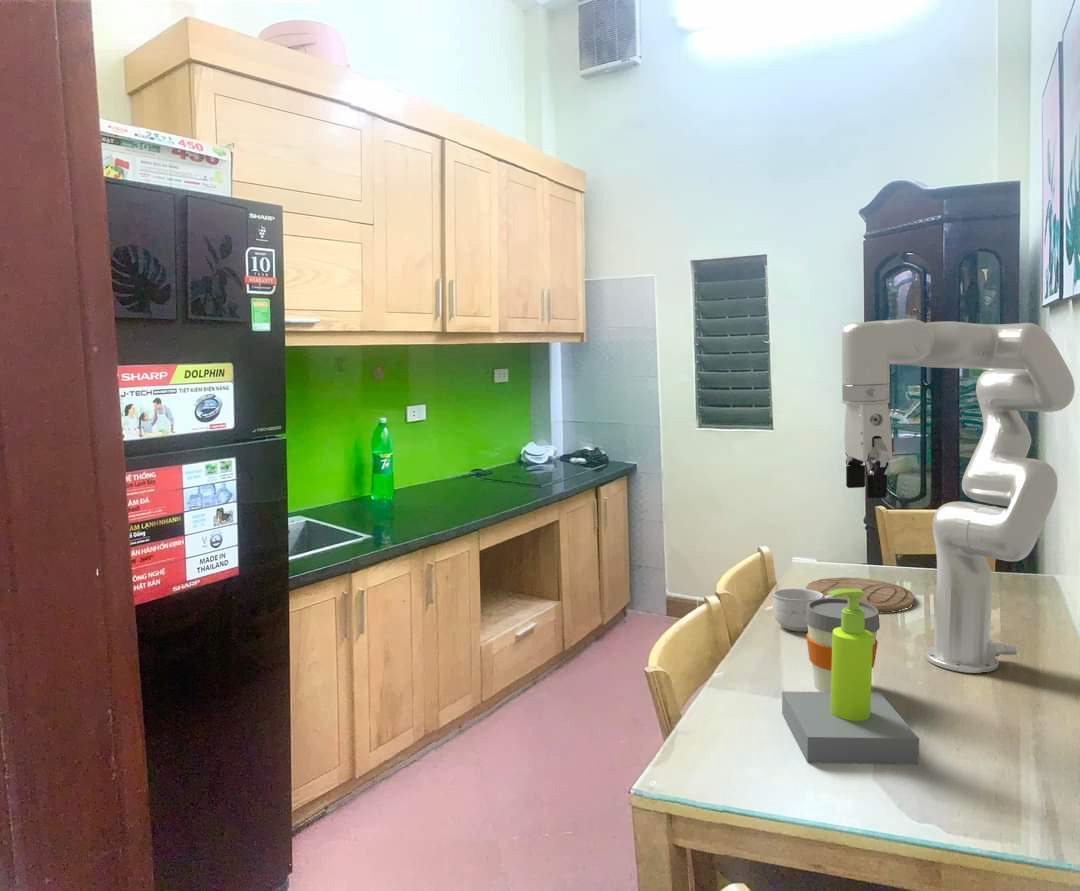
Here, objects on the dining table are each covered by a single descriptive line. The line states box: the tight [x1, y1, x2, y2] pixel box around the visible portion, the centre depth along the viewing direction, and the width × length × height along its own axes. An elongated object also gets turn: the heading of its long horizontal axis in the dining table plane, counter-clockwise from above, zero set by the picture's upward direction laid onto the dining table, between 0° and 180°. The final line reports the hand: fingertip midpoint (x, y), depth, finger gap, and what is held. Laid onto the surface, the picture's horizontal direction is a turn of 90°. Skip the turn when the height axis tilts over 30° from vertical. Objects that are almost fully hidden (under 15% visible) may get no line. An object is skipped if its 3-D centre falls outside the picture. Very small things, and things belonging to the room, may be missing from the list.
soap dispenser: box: [827, 588, 873, 721], centre depth 121 cm, size 6×7×20 cm
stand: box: [781, 691, 920, 765], centre depth 123 cm, size 16×16×4 cm
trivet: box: [805, 577, 915, 612], centre depth 194 cm, size 25×25×2 cm
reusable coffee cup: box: [805, 598, 881, 692], centre depth 141 cm, size 13×13×15 cm
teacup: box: [772, 587, 833, 632], centre depth 173 cm, size 14×11×8 cm
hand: (865, 492), depth 135 cm, fingers open, 9 cm apart
